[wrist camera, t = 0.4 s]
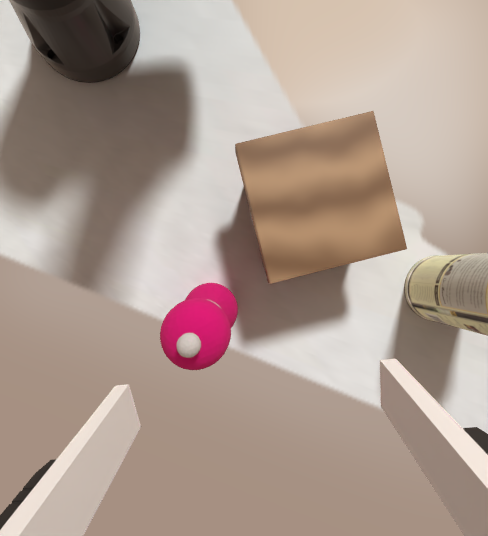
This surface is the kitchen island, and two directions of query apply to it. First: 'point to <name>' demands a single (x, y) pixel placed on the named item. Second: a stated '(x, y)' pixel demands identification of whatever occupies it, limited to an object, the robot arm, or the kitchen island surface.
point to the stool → (320, 197)
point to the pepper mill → (199, 327)
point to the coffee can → (451, 290)
